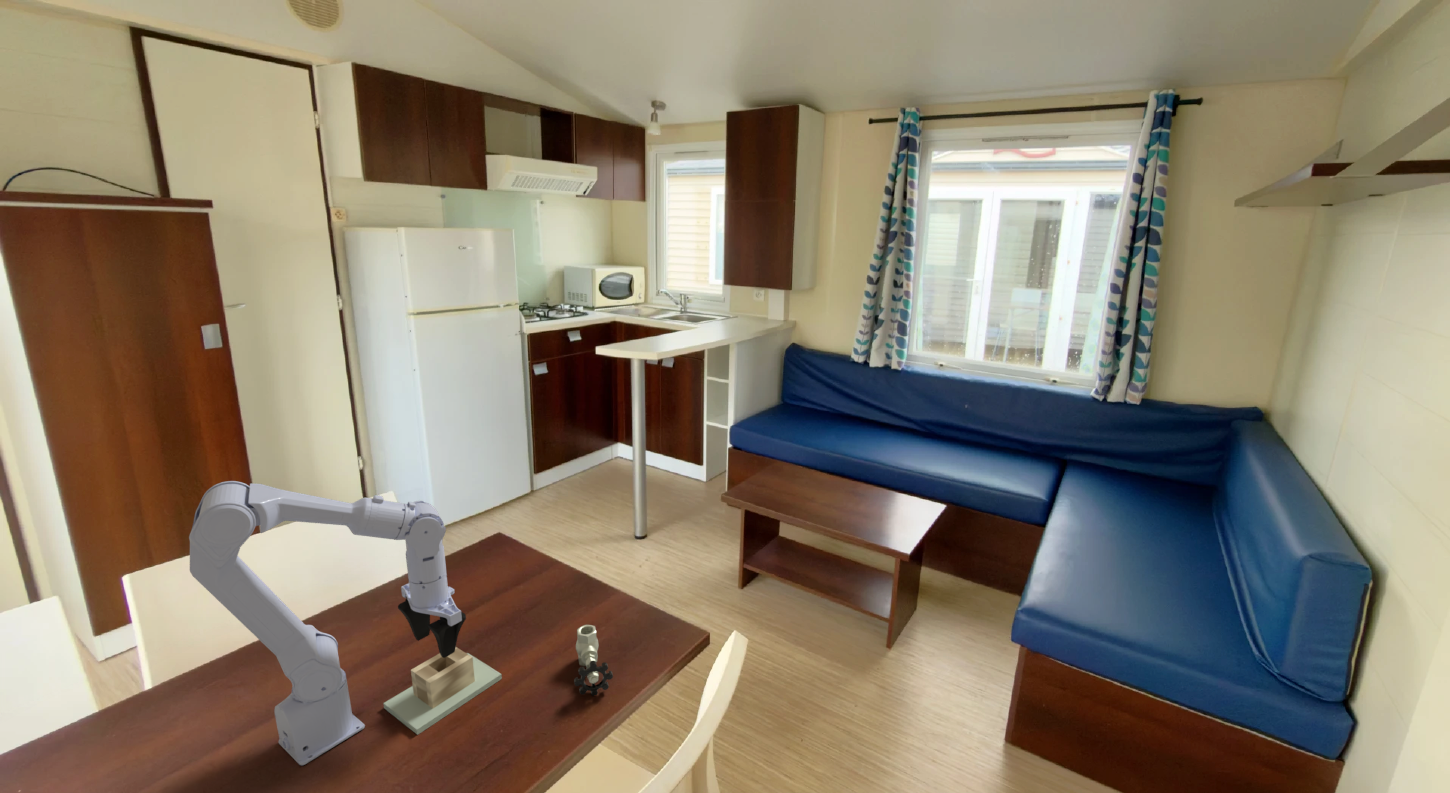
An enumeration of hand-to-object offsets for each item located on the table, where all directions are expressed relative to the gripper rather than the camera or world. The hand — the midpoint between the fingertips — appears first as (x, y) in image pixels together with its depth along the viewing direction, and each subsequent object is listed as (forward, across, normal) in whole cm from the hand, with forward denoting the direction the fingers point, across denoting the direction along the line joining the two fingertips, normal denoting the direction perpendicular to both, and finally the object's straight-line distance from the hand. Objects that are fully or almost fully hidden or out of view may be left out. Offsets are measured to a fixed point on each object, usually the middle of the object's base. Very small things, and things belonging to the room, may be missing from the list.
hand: (435, 645), depth 108 cm
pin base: (+9, -1, 0) cm, 9 cm away
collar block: (+8, -1, 0) cm, 8 cm away
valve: (+10, -18, -19) cm, 27 cm away
